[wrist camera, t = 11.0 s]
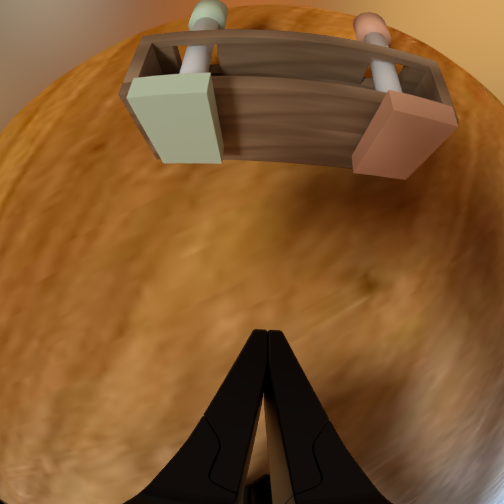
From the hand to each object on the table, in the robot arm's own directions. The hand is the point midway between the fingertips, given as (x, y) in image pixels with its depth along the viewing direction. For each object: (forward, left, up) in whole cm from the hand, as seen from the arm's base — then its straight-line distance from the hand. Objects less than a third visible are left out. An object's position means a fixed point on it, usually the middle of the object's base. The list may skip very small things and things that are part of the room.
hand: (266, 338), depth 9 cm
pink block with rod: (+7, -19, -11) cm, 23 cm away
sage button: (+17, -9, -11) cm, 22 cm away
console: (+10, -12, -14) cm, 21 cm away
